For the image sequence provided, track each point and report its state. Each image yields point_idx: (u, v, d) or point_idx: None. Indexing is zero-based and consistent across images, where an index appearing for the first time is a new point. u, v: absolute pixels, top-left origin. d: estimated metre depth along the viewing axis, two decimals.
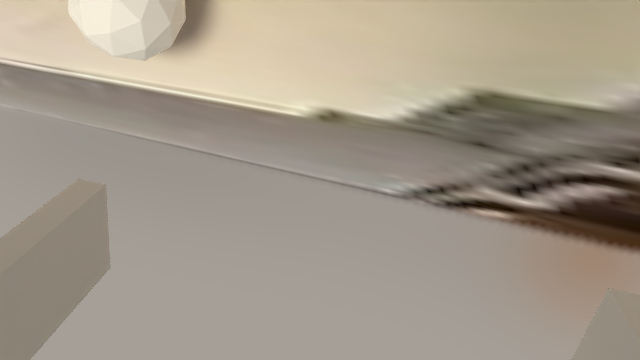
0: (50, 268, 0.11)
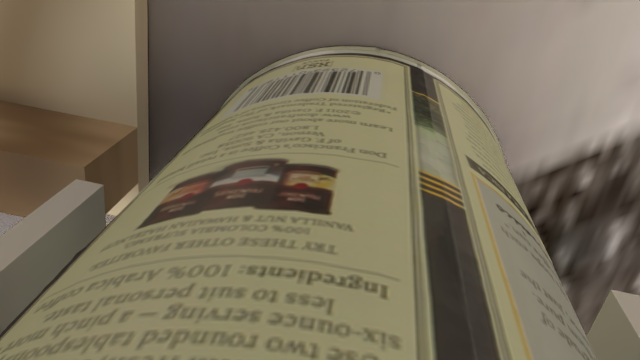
0: (47, 269, 0.11)
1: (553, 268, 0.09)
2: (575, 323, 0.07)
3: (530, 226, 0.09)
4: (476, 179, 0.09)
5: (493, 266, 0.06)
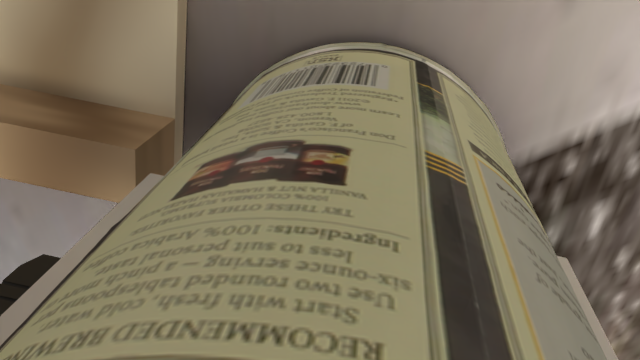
0: None
1: (550, 244, 0.09)
2: (568, 288, 0.08)
3: (528, 206, 0.10)
4: (478, 161, 0.09)
5: (493, 232, 0.07)
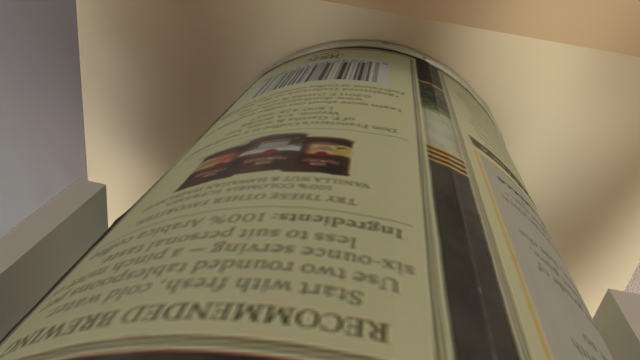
0: (50, 268, 0.11)
1: (550, 237, 0.10)
2: (569, 279, 0.08)
3: (529, 200, 0.10)
4: (479, 155, 0.10)
5: (494, 222, 0.07)
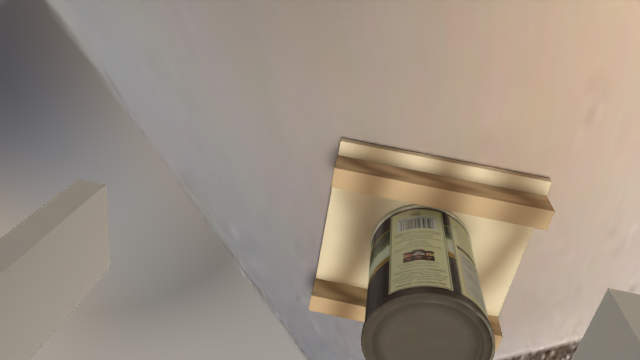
0: (50, 268, 0.11)
1: (474, 269, 0.44)
2: (474, 278, 0.42)
3: (470, 260, 0.44)
4: (458, 251, 0.44)
5: (459, 268, 0.41)
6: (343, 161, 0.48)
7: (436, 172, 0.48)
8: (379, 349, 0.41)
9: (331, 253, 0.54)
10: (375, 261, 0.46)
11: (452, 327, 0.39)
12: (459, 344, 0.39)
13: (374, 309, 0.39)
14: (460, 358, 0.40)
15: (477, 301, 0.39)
